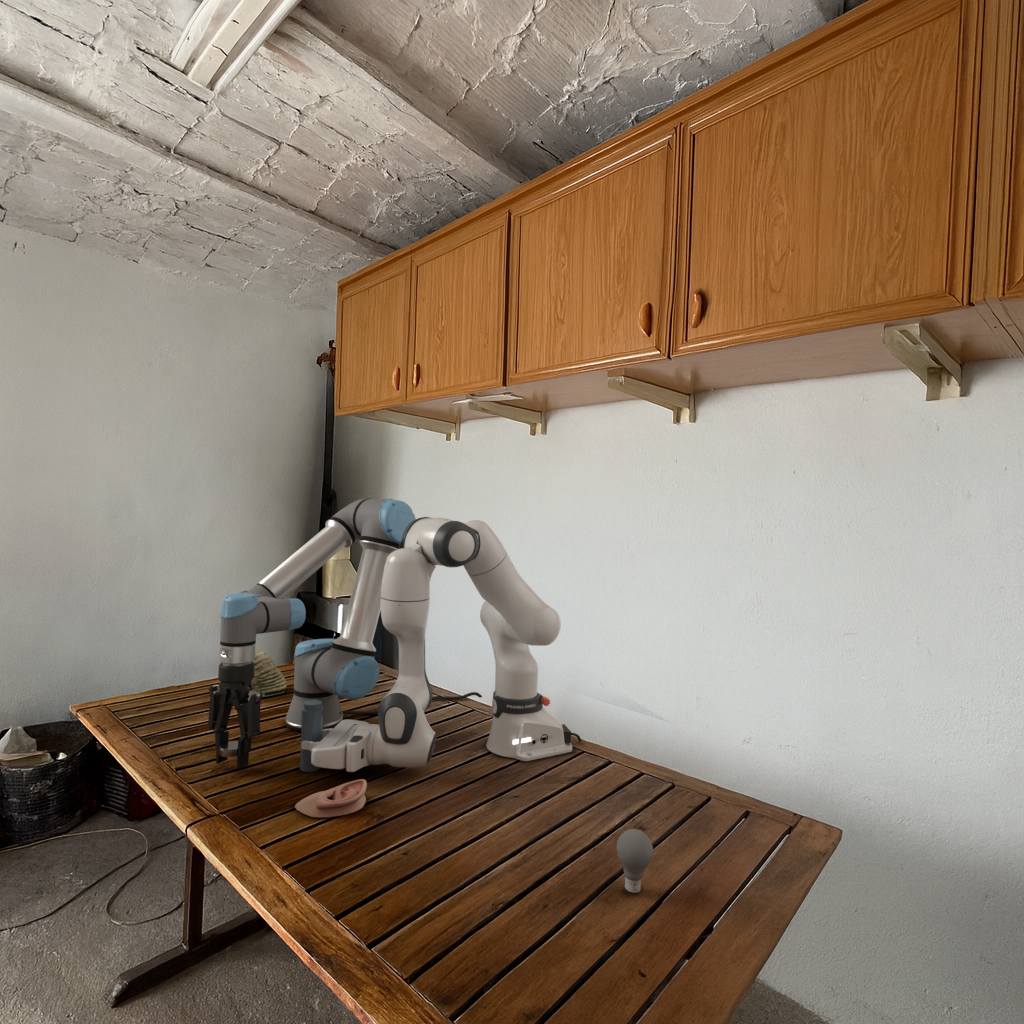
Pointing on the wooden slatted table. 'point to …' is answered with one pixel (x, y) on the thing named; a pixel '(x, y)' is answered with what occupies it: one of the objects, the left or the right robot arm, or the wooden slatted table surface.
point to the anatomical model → (335, 800)
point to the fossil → (267, 675)
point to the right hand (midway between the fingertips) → (307, 739)
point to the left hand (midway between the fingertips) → (232, 763)
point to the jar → (311, 731)
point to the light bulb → (634, 857)
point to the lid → (228, 749)
